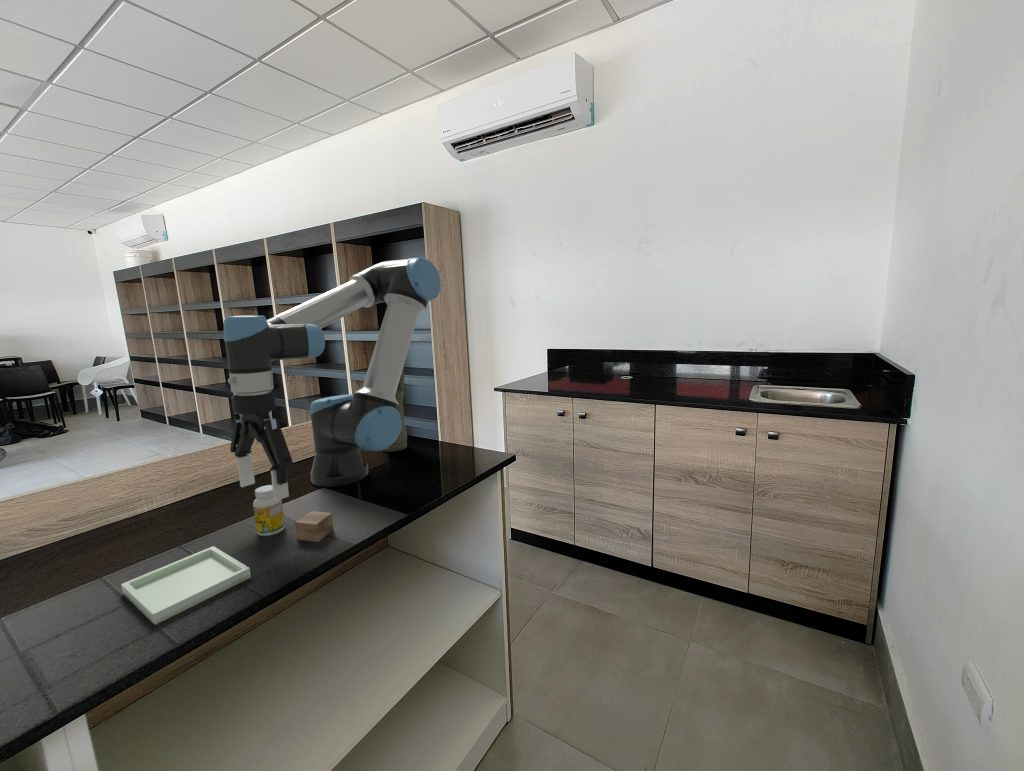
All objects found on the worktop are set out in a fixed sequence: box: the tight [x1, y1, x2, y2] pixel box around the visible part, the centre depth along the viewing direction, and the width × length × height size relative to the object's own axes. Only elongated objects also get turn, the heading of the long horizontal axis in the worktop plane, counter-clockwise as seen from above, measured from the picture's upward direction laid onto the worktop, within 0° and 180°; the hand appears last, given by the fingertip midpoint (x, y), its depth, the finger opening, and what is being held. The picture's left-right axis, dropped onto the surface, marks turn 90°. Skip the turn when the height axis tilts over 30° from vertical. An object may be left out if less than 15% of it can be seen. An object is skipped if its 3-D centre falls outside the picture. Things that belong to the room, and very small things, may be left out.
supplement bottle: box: [252, 484, 286, 537], centre depth 94 cm, size 5×5×10 cm
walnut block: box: [294, 510, 334, 543], centre depth 92 cm, size 5×5×4 cm
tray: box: [120, 545, 252, 626], centre depth 76 cm, size 14×14×2 cm
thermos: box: [381, 366, 408, 453], centre depth 146 cm, size 9×12×35 cm
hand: (264, 491), depth 93 cm, fingers open, 13 cm apart
